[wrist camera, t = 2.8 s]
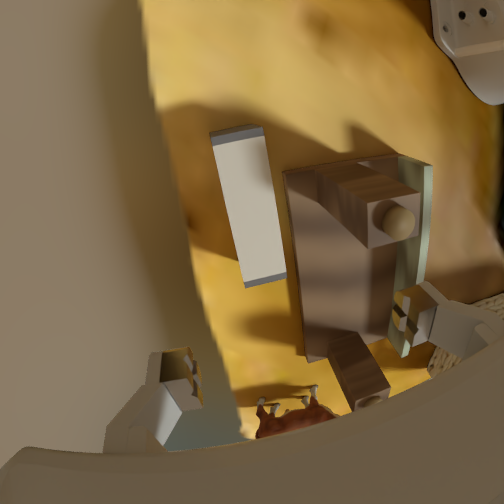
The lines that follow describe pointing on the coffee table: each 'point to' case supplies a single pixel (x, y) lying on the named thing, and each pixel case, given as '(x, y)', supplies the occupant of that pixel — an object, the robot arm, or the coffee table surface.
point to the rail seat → (357, 260)
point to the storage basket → (446, 360)
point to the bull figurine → (292, 416)
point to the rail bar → (250, 202)
